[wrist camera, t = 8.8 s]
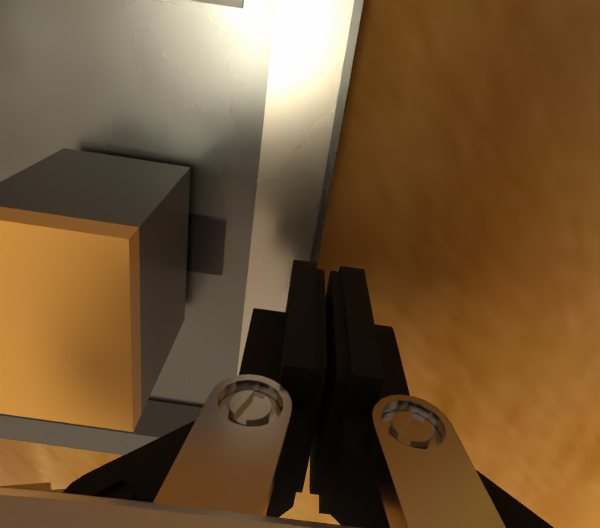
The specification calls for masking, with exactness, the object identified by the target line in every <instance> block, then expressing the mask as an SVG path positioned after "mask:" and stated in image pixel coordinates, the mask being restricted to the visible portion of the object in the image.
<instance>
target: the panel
mask: <svg viewBox="0 0 600 528" xmlns="http://www.w3.org/2000/svg"><path fill="white" fill-rule="evenodd" d="M363 2H364V0H0V182H1V181H3V180H5V179H7V178H9V177H11V176H13V175H15V174H16V173H18V172H20V171H22V170H24V169H26V168H28V167H30V166H31V165H33V164H35V163H37V162H39V161H41V160H43V159H45V158H46V157H48V156H50V155H52V154H54V153H56V152H58V151H60V150H61V149H63V148H67V149H73V150H80V151H87V152H93V153H100V154H106V155H113V156H120V157H126V158H133V159H139V160H146V161H152V162H159V163H166V164H172V165H179V166H185V167H190V192H189V218H188V244H187V270H186V296H185V320H184V322H183V324H182V326H181V329H180V331H179V333H178V335H177V337H176V340H175V342H174V344H173V346H172V348H171V351H170V353H169V355H168V357H167V359H166V362H165V364H164V366H163V368H162V370H161V373H160V375H159V377H158V379H157V381H156V383H155V386H154V388H153V390H152V392H151V394H150V397H149V399H148V401H147V403H146V405H145V408H144V410H143V412H142V414H141V416H140V419H139V421H138V423H137V425H136V427H135V429H134V432H129V431H122V430H115V429H108V428H100V427H93V426H86V425H79V424H72V423H65V422H57V421H50V420H43V419H36V418H29V417H22V416H14V415H7V414H0V438H4V439H11V440H18V441H26V442H33V443H40V444H47V445H54V446H62V447H69V448H76V449H83V450H90V451H98V452H105V453H112V454H119V455H125V454H127V453H129V452H132V451H134V450H136V449H138V448H140V447H142V446H144V445H146V444H148V443H150V442H152V441H154V440H156V439H158V438H160V437H162V436H164V435H166V434H168V433H170V432H172V431H174V430H176V429H178V428H180V427H182V426H184V425H186V424H188V423H190V422H192V421H195V420H196V419H197V417H198V415H199V413H200V412H201V410H202V408H203V406H204V404H205V402H206V400H207V398H208V396H209V394H210V392H211V391H212V390H213V389H214V387H215V386H216V385H217V384H218V383H220V382H221V381H223V380H225V379H226V378H230V377H233V376H236V375H239V371H240V367H241V362H242V357H243V353H244V348H245V344H246V339H247V335H248V330H249V326H250V321H251V317H252V312H253V309H254V308H258V309H266V310H273V311H280V312H285V311H286V304H287V298H288V291H289V285H290V278H291V272H292V265H293V260H301V261H308V262H315V263H316V265H317V260H318V254H319V248H320V243H321V237H322V232H323V226H324V220H325V215H326V209H327V204H328V198H329V192H330V187H331V181H332V176H333V170H334V164H335V159H336V153H337V148H338V142H339V136H340V131H341V125H342V120H343V114H344V108H345V103H346V97H347V92H348V86H349V80H350V75H351V69H352V64H353V58H354V52H355V47H356V41H357V36H358V30H359V24H360V19H361V13H362V7H363Z"/></svg>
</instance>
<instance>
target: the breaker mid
mask: <svg viewBox="0 0 600 528" xmlns="http://www.w3.org/2000/svg"><path fill="white" fill-rule="evenodd" d="M189 192H190V167H185V166H179V165H172V164H166V163H159V162H152V161H146V160H139V159H133V158H126V157H120V156H113V155H106V154H100V153H93V152H87V151H80V150H73V149H67V148H63V149H61V150H60V151H58V152H56V153H54V154H52V155H50V156H48V157H46V158H45V159H43V160H41V161H39V162H37V163H35V164H33V165H31V166H30V167H28V168H26V169H24V170H22V171H20V172H18V173H16V174H15V175H13V176H11V177H9V178H7V179H5V180H3V181H1V182H0V414H7V415H14V416H22V417H29V418H36V419H43V420H50V421H57V422H65V423H72V424H79V425H86V426H93V427H100V428H108V429H115V430H122V431H129V432H134V429H135V427H136V425H137V423H138V421H139V419H140V416H141V414H142V412H143V410H144V408H145V405H146V403H147V401H148V399H149V397H150V394H151V392H152V390H153V388H154V386H155V383H156V381H157V379H158V377H159V375H160V373H161V370H162V368H163V366H164V364H165V362H166V359H167V357H168V355H169V353H170V351H171V348H172V346H173V344H174V342H175V340H176V337H177V335H178V333H179V331H180V329H181V326H182V324H183V322H184V320H185V296H186V270H187V244H188V218H189Z"/></svg>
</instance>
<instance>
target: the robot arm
mask: <svg viewBox="0 0 600 528" xmlns="http://www.w3.org/2000/svg"><path fill="white" fill-rule="evenodd" d="M309 457H310V494H317V495H319V513H323V514H331V515H332V516H333V517H334V518H335V519H336V520H337V521H338V522H339V523H340V524H341V525H335V524H327V523H318V522H310V521H302V520H294V519H286V518H278V517H280V516H281V515H282V514H284V513H285V512H286V511H288V510H289V509H290V508H292V507H293V504H294V499H295V494H296V492H301V493H302V490H303V486H304V481H305V476H306V471H307V467H308V462H309ZM0 528H553V527H552V526H551V525H549V524H548V523H547V522H545V521H544V520H543V519H541V518H540V517H539V516H537V515H536V514H535V513H533V512H532V511H531V510H529V509H528V508H527V507H525V506H524V505H523V504H521V503H520V502H519V501H517V500H516V499H515V498H513V497H512V496H511V495H509V494H508V493H506V492H505V491H504V490H502V489H501V488H500V487H498V486H497V485H496V484H494V483H493V482H492V481H490V480H489V479H488V478H486V477H485V476H484V475H482V474H481V473H480V472H478V471H477V470H476V469H475V467H474V465H473V464H472V462H471V460H470V458H469V456H468V454H467V452H466V450H465V448H464V446H463V444H462V442H461V440H460V439H459V437H458V435H457V433H456V431H455V429H454V427H453V425H452V423H451V422H450V421H449V419H448V418H447V416H446V415H445V414H444V413H443V412H442V411H440V410H439V409H438V408H437V407H436V406H434V405H432V404H431V403H429V402H427V401H425V400H423V399H420V398H417V397H414V396H410V394H409V390H408V386H407V382H406V378H405V374H404V370H403V366H402V362H401V358H400V354H399V350H398V346H397V342H396V338H395V334H394V330H393V328H392V327H389V326H381V325H374V320H373V314H372V309H371V304H370V298H369V293H368V288H367V282H366V277H365V272H364V269H357V268H350V267H343V266H341V267H340V269H339V272H336V271H331V272H330V276H329V282H328V287H327V292H326V297H325V274H324V270H322V269H316V263H315V262H308V261H301V260H293V265H292V272H291V278H290V285H289V291H288V298H287V304H286V311H285V312H280V311H273V310H266V309H258V308H254V309H253V312H252V317H251V321H250V326H249V330H248V335H247V339H246V344H245V348H244V353H243V357H242V362H241V367H240V371H239V375H236V376H233V377H230V378H226V379H225V380H223V381H221V382H220V383H218V384H217V385H216V386H215V387H214V389H213V390H212V391H211V392H210V394H209V396H208V398H207V400H206V402H205V404H204V406H203V408H202V410H201V412H200V413H199V415H198V417H197V419H196V420H195V421H192V422H190V423H188V424H186V425H184V426H182V427H180V428H178V429H176V430H174V431H172V432H170V433H168V434H166V435H164V436H162V437H160V438H158V439H156V440H154V441H152V442H150V443H148V444H146V445H144V446H142V447H140V448H138V449H136V450H134V451H132V452H129V453H127V454H125V455H123V456H121V457H119V458H117V459H115V460H113V461H111V462H109V463H107V464H105V465H103V466H101V467H99V468H97V469H95V470H93V471H91V472H89V473H87V474H85V475H83V476H82V477H80V478H79V479H77V480H76V481H74V482H72V483H71V484H70V485H69V486H68V487H67V488H66V489H58V490H51V483H38V484H25V485H11V486H0Z"/></svg>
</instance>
